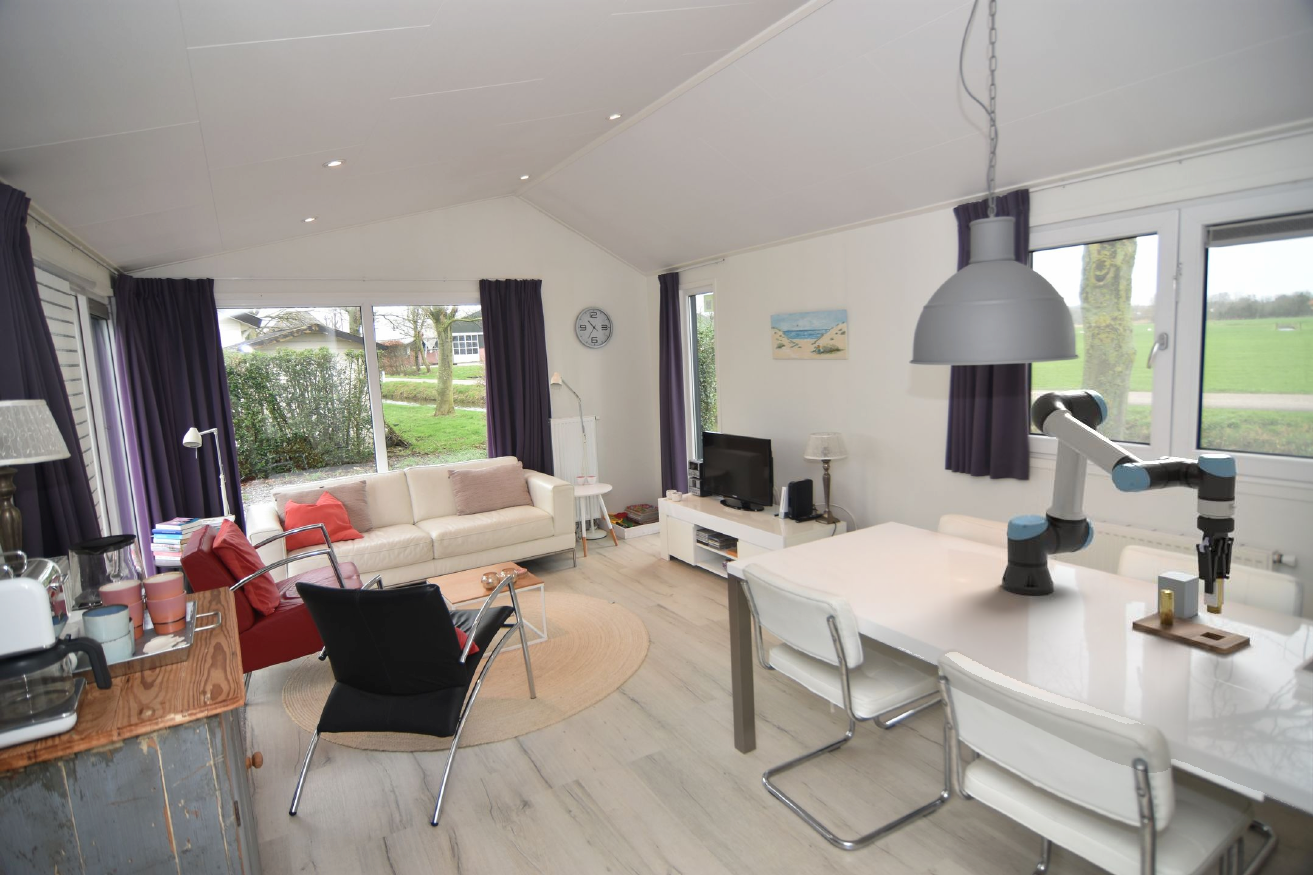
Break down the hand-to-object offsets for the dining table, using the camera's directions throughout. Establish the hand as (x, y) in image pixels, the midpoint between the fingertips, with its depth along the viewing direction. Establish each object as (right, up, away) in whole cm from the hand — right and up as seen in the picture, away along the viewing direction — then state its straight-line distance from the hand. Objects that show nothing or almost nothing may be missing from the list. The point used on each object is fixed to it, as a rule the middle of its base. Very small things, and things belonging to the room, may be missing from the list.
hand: (1213, 603), depth 182 cm
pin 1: (-4, -8, +11) cm, 14 cm away
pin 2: (0, -2, 0) cm, 2 cm away
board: (-2, -10, +6) cm, 12 cm away
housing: (+6, -8, +21) cm, 23 cm away
